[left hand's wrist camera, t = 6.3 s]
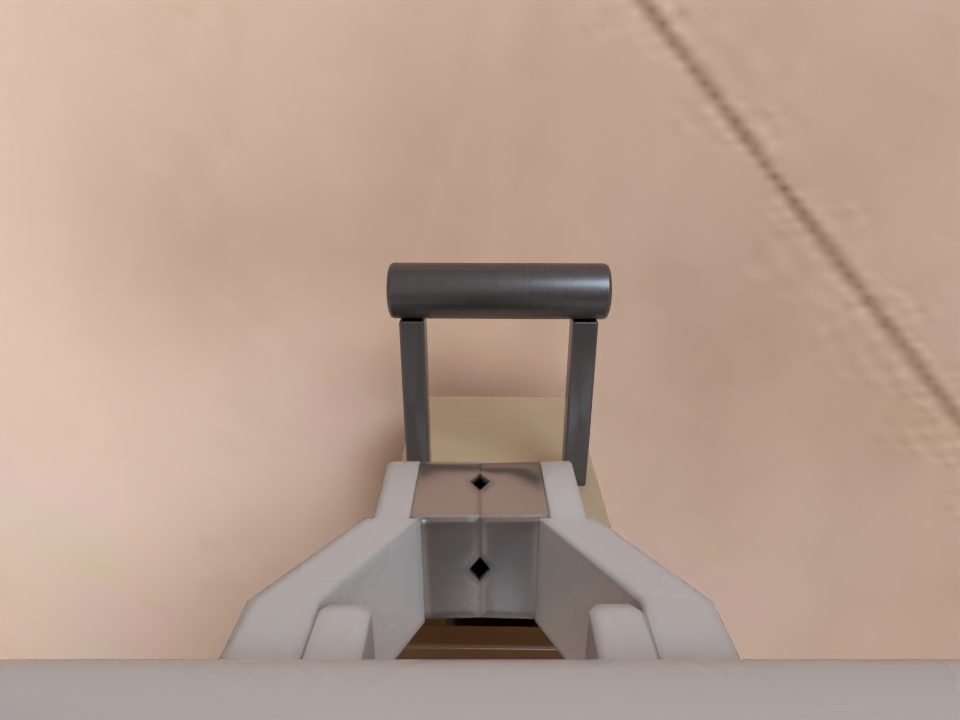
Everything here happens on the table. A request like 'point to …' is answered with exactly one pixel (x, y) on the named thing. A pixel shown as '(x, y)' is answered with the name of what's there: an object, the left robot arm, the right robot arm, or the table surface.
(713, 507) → the table surface
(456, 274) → the drawer
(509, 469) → the left robot arm
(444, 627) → the tall brown box
